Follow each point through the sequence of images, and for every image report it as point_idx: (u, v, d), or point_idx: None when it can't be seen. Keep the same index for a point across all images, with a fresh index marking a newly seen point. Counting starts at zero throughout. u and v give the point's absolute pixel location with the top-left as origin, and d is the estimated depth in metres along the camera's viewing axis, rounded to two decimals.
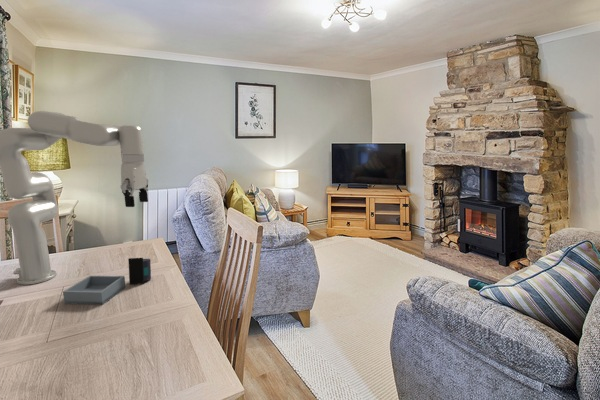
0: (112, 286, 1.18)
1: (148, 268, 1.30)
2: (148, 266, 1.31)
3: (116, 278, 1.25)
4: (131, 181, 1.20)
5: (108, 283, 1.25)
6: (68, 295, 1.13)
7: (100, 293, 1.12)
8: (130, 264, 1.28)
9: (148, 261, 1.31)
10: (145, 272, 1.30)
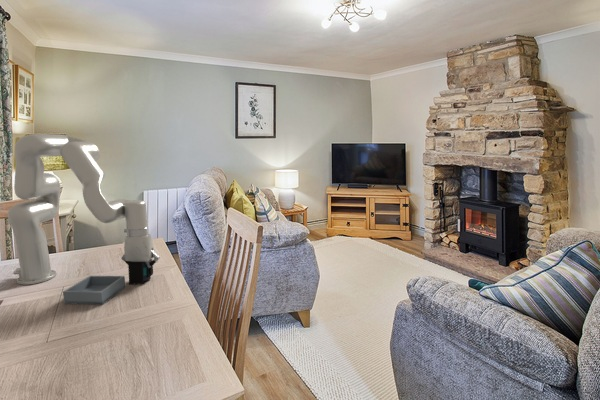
0: (112, 286, 1.18)
1: None
2: None
3: (116, 278, 1.25)
4: (153, 249, 1.31)
5: (108, 283, 1.25)
6: (68, 295, 1.13)
7: (100, 293, 1.12)
8: (130, 264, 1.28)
9: None
10: (145, 272, 1.30)
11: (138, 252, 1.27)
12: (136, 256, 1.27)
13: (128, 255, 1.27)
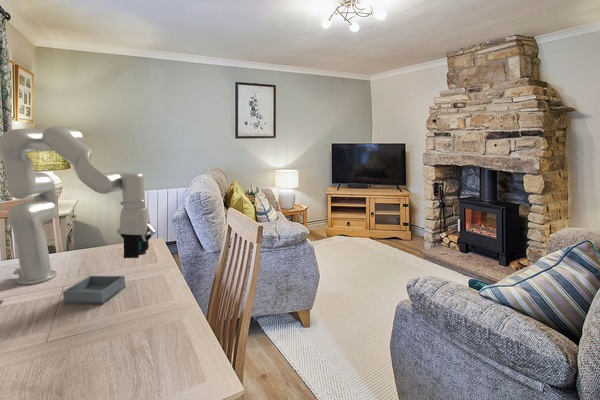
0: (112, 286, 1.18)
1: None
2: None
3: (116, 278, 1.25)
4: None
5: (108, 283, 1.25)
6: (68, 295, 1.13)
7: (100, 293, 1.12)
8: (125, 237, 1.26)
9: None
10: (140, 246, 1.28)
11: (134, 225, 1.25)
12: (132, 229, 1.25)
13: (124, 228, 1.25)
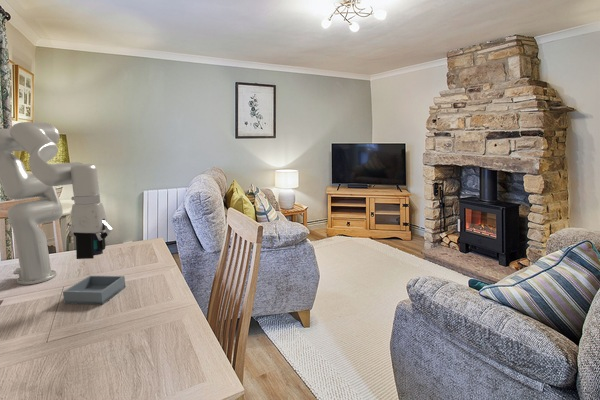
0: (112, 286, 1.18)
1: None
2: None
3: (116, 278, 1.25)
4: (106, 220, 1.17)
5: (108, 283, 1.25)
6: (68, 295, 1.13)
7: (100, 293, 1.12)
8: (77, 236, 1.14)
9: None
10: (95, 245, 1.16)
11: (87, 222, 1.13)
12: (85, 227, 1.13)
13: (75, 225, 1.13)
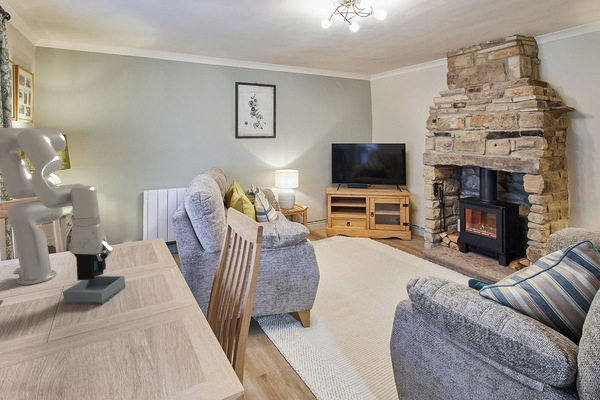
0: (112, 286, 1.18)
1: None
2: None
3: (116, 278, 1.25)
4: (106, 241, 1.17)
5: (108, 283, 1.25)
6: (68, 295, 1.13)
7: (100, 293, 1.12)
8: (78, 257, 1.14)
9: None
10: (96, 266, 1.16)
11: (87, 244, 1.13)
12: (85, 248, 1.14)
13: (76, 247, 1.14)
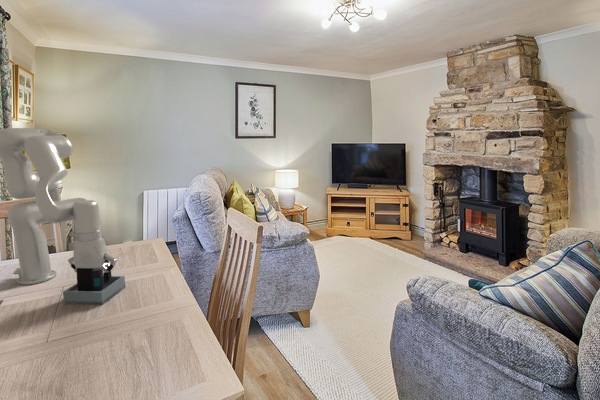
0: (112, 286, 1.18)
1: (99, 279, 1.18)
2: (100, 276, 1.19)
3: (116, 278, 1.25)
4: (107, 255, 1.18)
5: (108, 283, 1.25)
6: (68, 295, 1.13)
7: (100, 293, 1.12)
8: (78, 275, 1.16)
9: (100, 271, 1.19)
10: (96, 283, 1.17)
11: (89, 258, 1.14)
12: (87, 262, 1.15)
13: (78, 261, 1.15)
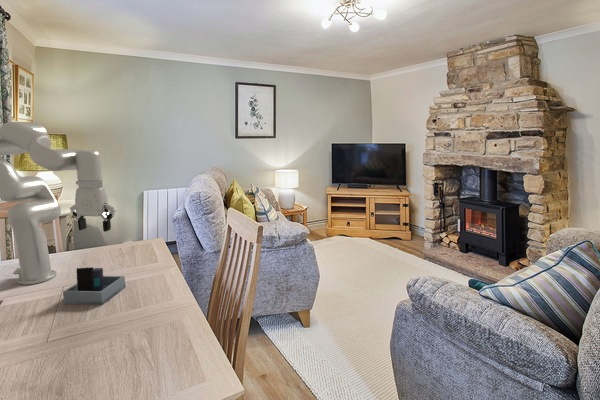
0: (112, 286, 1.18)
1: (99, 279, 1.18)
2: (100, 276, 1.19)
3: (116, 278, 1.25)
4: (107, 205, 1.22)
5: (108, 283, 1.25)
6: (68, 295, 1.13)
7: (100, 293, 1.12)
8: (78, 274, 1.16)
9: (100, 271, 1.19)
10: (96, 283, 1.17)
11: (89, 206, 1.18)
12: (87, 210, 1.19)
13: (79, 208, 1.19)
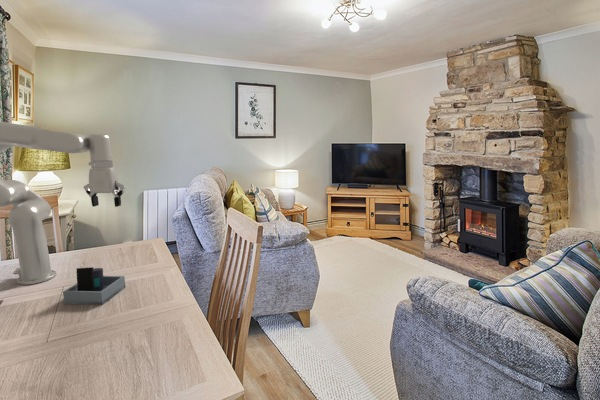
0: (112, 286, 1.18)
1: (99, 279, 1.18)
2: (100, 276, 1.19)
3: (116, 278, 1.25)
4: (117, 183, 1.37)
5: (108, 283, 1.25)
6: (68, 295, 1.13)
7: (100, 293, 1.12)
8: (78, 274, 1.16)
9: (100, 271, 1.19)
10: (96, 283, 1.17)
11: (102, 183, 1.33)
12: (100, 187, 1.33)
13: (92, 186, 1.34)
